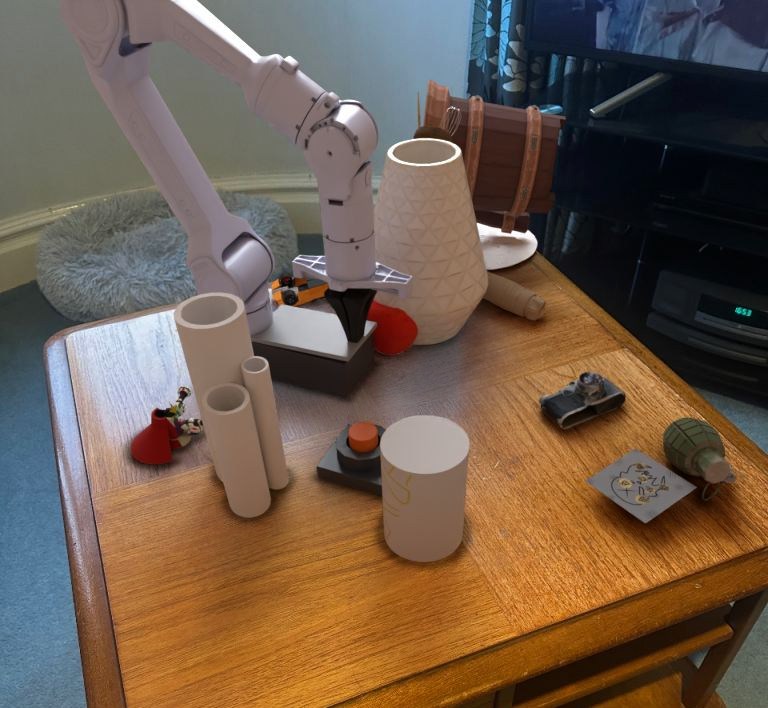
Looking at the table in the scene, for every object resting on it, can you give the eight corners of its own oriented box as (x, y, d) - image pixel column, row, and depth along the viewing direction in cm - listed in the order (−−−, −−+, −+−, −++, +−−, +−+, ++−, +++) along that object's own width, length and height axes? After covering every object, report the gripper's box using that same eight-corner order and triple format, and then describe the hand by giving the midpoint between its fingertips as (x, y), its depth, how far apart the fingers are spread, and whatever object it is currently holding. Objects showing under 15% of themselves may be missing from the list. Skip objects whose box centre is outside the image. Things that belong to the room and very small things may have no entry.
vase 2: (406, 281, 110) (405, 116, 93) (507, 314, 102) (525, 142, 86) (335, 333, 100) (320, 161, 84) (441, 374, 93) (447, 194, 76)
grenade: (687, 470, 84) (728, 515, 76) (638, 446, 82) (674, 490, 74) (724, 425, 81) (770, 467, 73) (674, 399, 79) (716, 439, 71)
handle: (526, 318, 97) (438, 275, 103) (536, 333, 103) (452, 291, 109) (545, 286, 97) (456, 245, 103) (554, 303, 103) (469, 263, 108)
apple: (384, 321, 102) (382, 270, 97) (436, 340, 99) (437, 288, 93) (345, 351, 98) (341, 299, 92) (399, 372, 94) (398, 319, 88)
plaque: (395, 228, 122) (395, 219, 121) (501, 209, 127) (502, 200, 126) (444, 285, 109) (445, 276, 108) (559, 262, 114) (561, 253, 113)
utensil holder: (444, 181, 92) (465, 89, 92) (396, 172, 93) (416, 81, 93) (444, 201, 98) (463, 115, 98) (399, 193, 99) (418, 107, 98)
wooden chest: (408, 265, 115) (532, 278, 115) (421, 145, 94) (574, 162, 94) (417, 177, 122) (534, 190, 122) (431, 47, 100) (573, 63, 101)
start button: (344, 448, 79) (343, 436, 78) (357, 431, 81) (356, 419, 80) (370, 456, 78) (369, 443, 77) (382, 438, 80) (382, 426, 79)
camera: (532, 409, 88) (536, 381, 85) (599, 384, 91) (606, 356, 88) (558, 432, 84) (563, 404, 81) (626, 406, 88) (634, 377, 85)
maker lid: (377, 326, 91) (377, 322, 91) (348, 361, 86) (347, 357, 85) (282, 308, 96) (281, 304, 95) (248, 340, 90) (247, 336, 90)
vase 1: (208, 458, 83) (165, 303, 69) (268, 440, 85) (238, 285, 71) (237, 523, 76) (195, 364, 61) (301, 501, 78) (275, 342, 63)
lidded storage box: (375, 363, 95) (373, 328, 92) (346, 399, 90) (343, 364, 86) (287, 342, 99) (282, 308, 96) (255, 375, 94) (248, 341, 90)
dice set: (638, 460, 78) (635, 473, 79) (606, 481, 76) (603, 494, 77) (677, 485, 75) (673, 498, 76) (644, 507, 73) (641, 520, 74)
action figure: (228, 441, 85) (219, 404, 81) (151, 479, 81) (137, 442, 77) (192, 405, 90) (182, 368, 86) (117, 438, 86) (103, 402, 82)
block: (317, 477, 80) (314, 453, 78) (349, 434, 85) (347, 411, 83) (382, 496, 78) (381, 473, 75) (411, 451, 83) (411, 428, 80)
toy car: (304, 248, 111) (310, 267, 113) (255, 291, 105) (262, 310, 108) (367, 260, 105) (371, 280, 108) (319, 306, 100) (324, 326, 102)
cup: (380, 506, 77) (376, 418, 68) (456, 500, 77) (461, 412, 69) (387, 565, 71) (384, 477, 63) (468, 558, 72) (476, 470, 63)
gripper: (272, 236, 78) (288, 343, 88) (394, 258, 74) (397, 369, 84) (303, 209, 83) (315, 315, 93) (420, 229, 78) (420, 337, 88)
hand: (356, 338), depth 88 cm, fingers closed, pressing on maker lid
